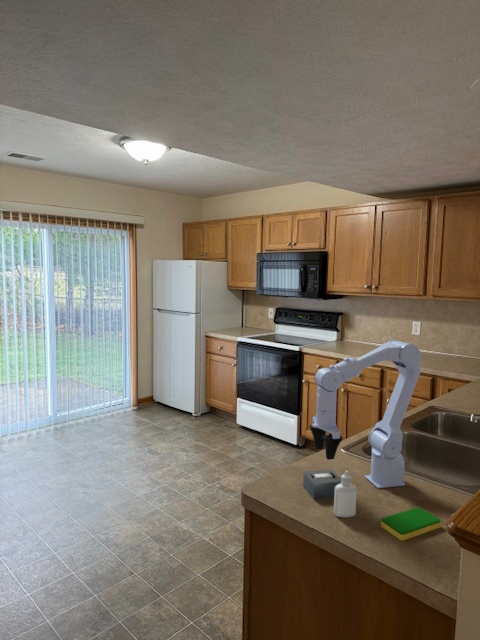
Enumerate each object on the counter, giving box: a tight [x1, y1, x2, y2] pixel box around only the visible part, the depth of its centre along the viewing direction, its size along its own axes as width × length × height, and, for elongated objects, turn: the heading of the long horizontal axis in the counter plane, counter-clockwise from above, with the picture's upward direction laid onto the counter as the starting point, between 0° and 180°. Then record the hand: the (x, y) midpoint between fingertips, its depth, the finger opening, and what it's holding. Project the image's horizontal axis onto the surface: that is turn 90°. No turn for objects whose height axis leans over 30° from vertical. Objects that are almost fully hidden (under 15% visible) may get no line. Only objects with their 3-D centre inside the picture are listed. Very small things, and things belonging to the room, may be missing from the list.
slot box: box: [302, 468, 341, 500], centre depth 129 cm, size 9×8×5 cm
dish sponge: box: [380, 506, 442, 541], centre depth 112 cm, size 7×14×2 cm, turn 117°
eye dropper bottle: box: [333, 470, 358, 518], centre depth 117 cm, size 4×6×12 cm
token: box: [314, 473, 332, 480], centre depth 129 cm, size 5×2×5 cm, turn 103°
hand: (324, 453), depth 131 cm, fingers open, 7 cm apart
